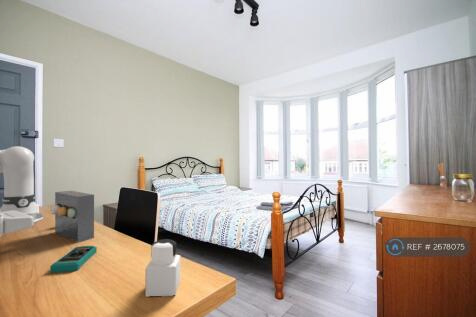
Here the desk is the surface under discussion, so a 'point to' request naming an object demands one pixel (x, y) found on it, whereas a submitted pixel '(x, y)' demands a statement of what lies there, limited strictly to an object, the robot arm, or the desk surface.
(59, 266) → the digital multimeter
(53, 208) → the cream button
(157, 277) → the medicine bottle
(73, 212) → the sage button
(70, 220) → the control box
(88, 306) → the desk surface
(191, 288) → the desk surface
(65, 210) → the orange button
